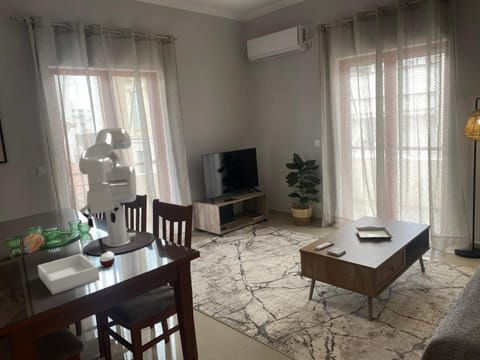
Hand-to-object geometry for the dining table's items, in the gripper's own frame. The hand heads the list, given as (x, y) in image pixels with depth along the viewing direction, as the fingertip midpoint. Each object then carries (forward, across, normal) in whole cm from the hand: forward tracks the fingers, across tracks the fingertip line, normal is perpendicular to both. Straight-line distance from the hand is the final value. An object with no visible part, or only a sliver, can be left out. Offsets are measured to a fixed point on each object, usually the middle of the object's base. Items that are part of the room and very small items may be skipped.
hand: (102, 224), depth 159 cm
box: (+20, +16, 0) cm, 26 cm away
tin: (+19, +20, -53) cm, 59 cm away
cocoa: (+20, 0, -1) cm, 20 cm away
